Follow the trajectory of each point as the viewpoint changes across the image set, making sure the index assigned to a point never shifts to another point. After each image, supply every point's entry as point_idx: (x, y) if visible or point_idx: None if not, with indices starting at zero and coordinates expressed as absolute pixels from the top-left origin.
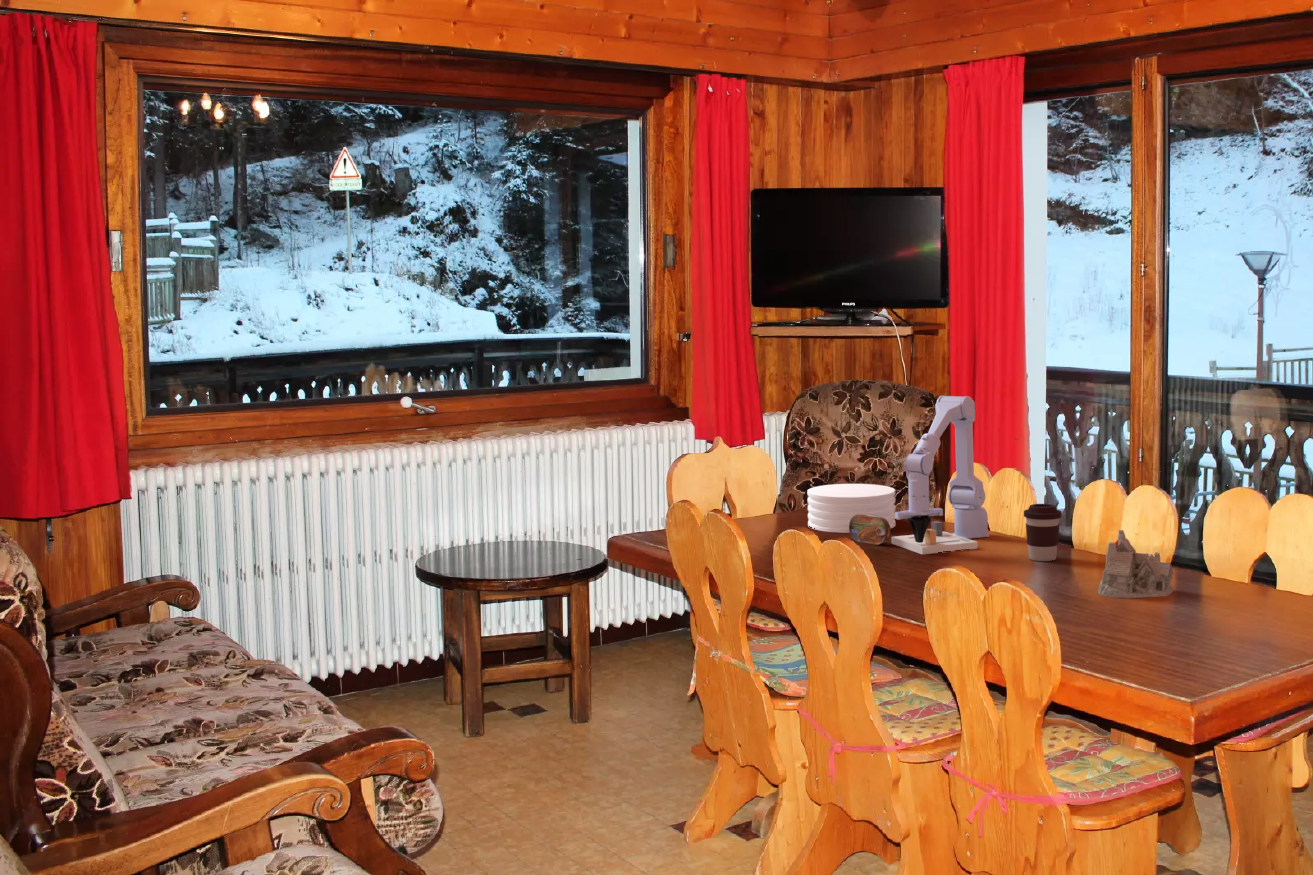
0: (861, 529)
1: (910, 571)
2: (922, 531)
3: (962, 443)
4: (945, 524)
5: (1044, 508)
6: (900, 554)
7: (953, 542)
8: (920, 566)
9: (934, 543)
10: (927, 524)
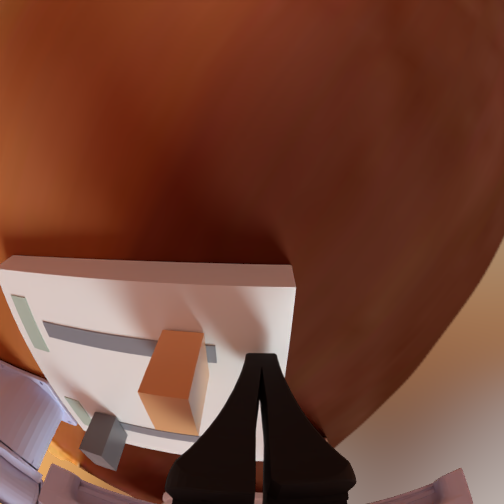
0: None
1: (501, 13)
2: (255, 405)
3: None
4: (79, 457)
5: None
6: (378, 313)
7: (71, 314)
8: (451, 30)
9: (172, 332)
10: (210, 445)
